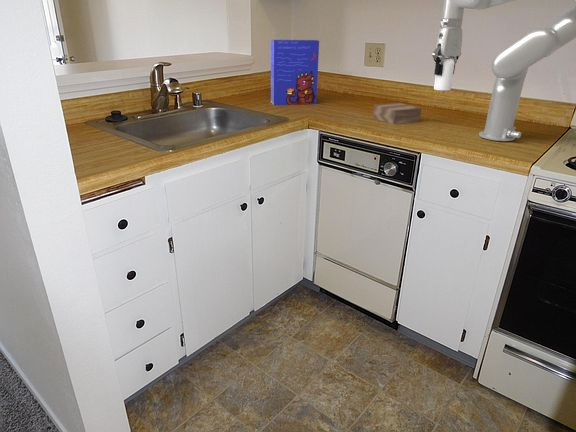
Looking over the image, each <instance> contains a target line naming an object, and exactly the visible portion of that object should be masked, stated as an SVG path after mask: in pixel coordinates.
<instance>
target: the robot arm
mask: <svg viewBox="0 0 576 432" xmlns="http://www.w3.org/2000/svg"><path fill="white" fill-rule="evenodd" d="M514 1H516V0H443V5H442V12H441V20H440V27H439V30H438V34H437V37H436V42H435V49H434V50H433V52H432V53H431V55H432V58H433V61H434V64H435V66H434V67H435V68H434V74H433V75H434V76H435V75H442V71H443V64H442V63H443V60H444V58H454V62H455V63H454V71H453V75H455V70H456V64H457V63H458V60H459V58H460V57H461V55H462V47H463V28H462V24H463V18H464V12H465V9H469V10H478V11H479V10H486V9H490V8H493V7H496V6H500V5H504V4H507V3H510V2H514ZM572 1H573V2H575V3H576V0H572ZM575 39H576V5H575V6H574V7H572V8H571V10H568V11H567V12H566V13H563V14H562V15H561V16H560V17H558V18H557V19H555V20H554V21H552V22H551V23H549V24H547V25H546V26H544V27H539V28H536V29H534V30H531V31H529V32H528V33H526V34H525V35H523V36H522V37H520V38H518V40H516V41H514V42H513V43H511V44H510V45H509V46H506V47H505V48H504V49H502V50H501V51H500V52H498V54H496V55H495V57H494V58H493V60H492V62H491V70H492V71H491V72H492V73H493V75H494V76H495V77H496V78H495V80H494V84H493V88H492V92H491V97H490V102H489V106H488V110H487V116H486V120H485V126H484V130H481V131H479V134H478V136H479V137H480V138H483V139H485V140H490V141H496V142H497V141H498V142H512V141H514V140H515V139H519V138H521V136H522V132H521V131H516V128H517V127H516V126H514V124H515V120H516V115H517V111H518V109H519V108H518V107H519V104H520V98H521V94H522V91H523V87H524V82H525V80H526V77H527V73H528V70H529V68H530V67H531V66H533V65H535V64H536V63H537V62H539V61H541V60H542V59H544V58H547V57H549V56H551V55H552V54H553V55H554V53H556V52H557V51H558V50H560V49H561V48H562V47H565V45H567V44H569V43H570V42H572V41H573V40H575ZM440 58H441V60H440Z"/></svg>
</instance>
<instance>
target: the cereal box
mask: <svg viewBox="0 0 576 432" xmlns="http://www.w3.org/2000/svg"><path fill="white" fill-rule="evenodd" d="M319 49H320V41H319V40H318V39H271V40H270V104H271V103H272V104H273V105H278V106H295V105H297V106H299V105H300V106H301V105H316V104H317V100H318V99H317V95H318V74H319V55H320V53H319V52H320V51H319ZM272 104H271V105H272ZM273 105H272V106H273Z"/></svg>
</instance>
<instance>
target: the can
mask: <svg viewBox="0 0 576 432" xmlns="http://www.w3.org/2000/svg"><path fill="white" fill-rule="evenodd" d="M440 60H441V58H440ZM454 63H455V62H454V58H448V57H445V58H444V60H443V63H442V64H443V71H442V75H435V74H434V76H435V77H434V82H433V90H434V91H436V92H437V91H438V92H450V91H451V89H452V84H453V77H454V74H453V71H454V72H455V70H454Z"/></svg>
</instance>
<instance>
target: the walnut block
mask: <svg viewBox="0 0 576 432" xmlns="http://www.w3.org/2000/svg"><path fill="white" fill-rule="evenodd" d="M421 113H422V107H417V106H414V105H411V104H406V103H401V102H394V103H393V102H392V103H381V104H374V105H373V111H372V118H373V119H375V120H379V121H381V122H384V123H387V124H391V125H402V124H410V123H411V124H412V123H420V120H421Z"/></svg>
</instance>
